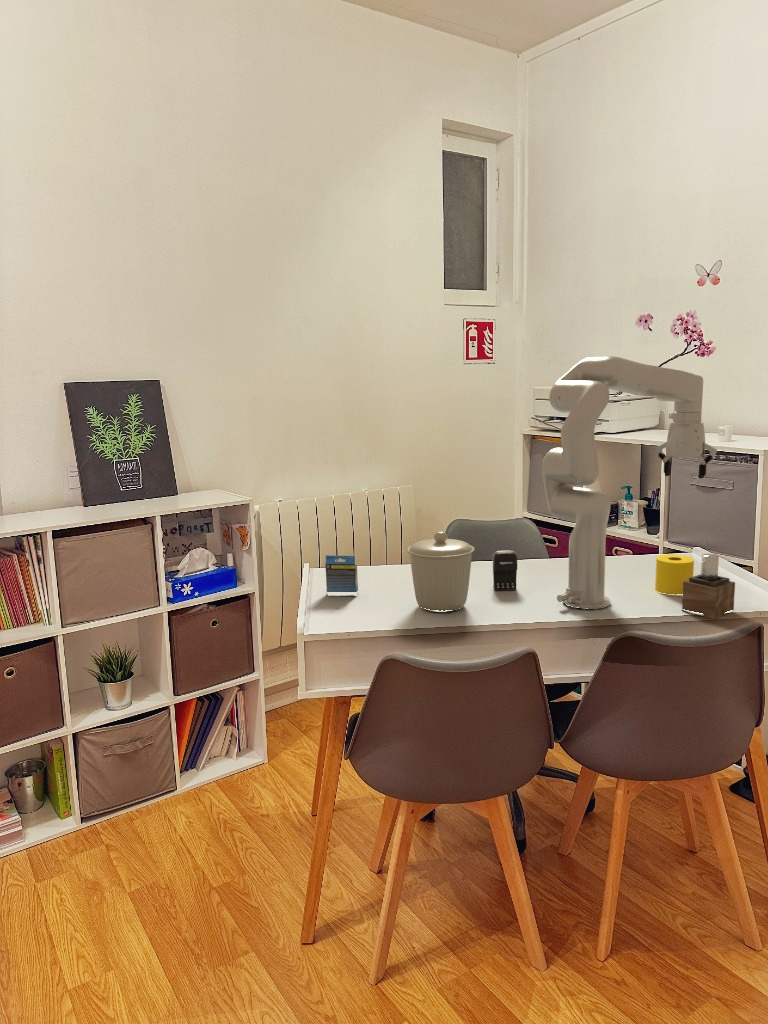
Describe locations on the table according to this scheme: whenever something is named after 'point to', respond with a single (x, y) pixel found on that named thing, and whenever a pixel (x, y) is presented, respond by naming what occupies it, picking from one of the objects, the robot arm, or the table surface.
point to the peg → (709, 567)
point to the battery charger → (504, 570)
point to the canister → (441, 572)
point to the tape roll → (673, 573)
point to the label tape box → (341, 574)
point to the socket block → (708, 596)
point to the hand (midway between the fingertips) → (684, 476)
